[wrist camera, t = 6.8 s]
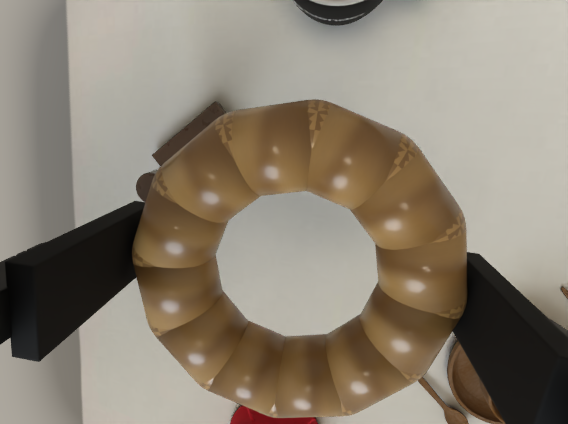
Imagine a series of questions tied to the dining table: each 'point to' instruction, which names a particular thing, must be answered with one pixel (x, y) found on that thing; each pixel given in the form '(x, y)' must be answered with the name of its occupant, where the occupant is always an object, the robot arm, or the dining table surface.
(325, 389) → the segmented ring
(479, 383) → the place setting
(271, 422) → the alarm clock
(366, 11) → the mug
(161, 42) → the dining table surface
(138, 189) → the peg
